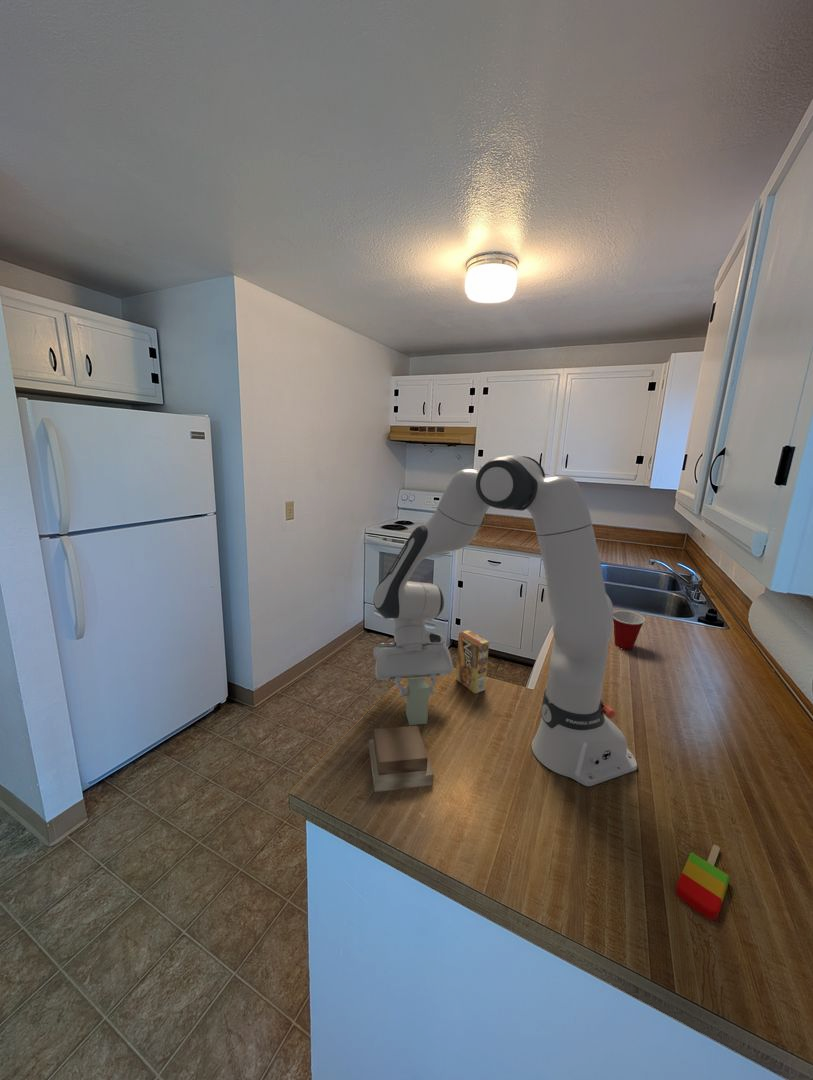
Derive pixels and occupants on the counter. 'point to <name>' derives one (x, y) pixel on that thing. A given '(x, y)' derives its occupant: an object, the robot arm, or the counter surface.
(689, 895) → the popsicle
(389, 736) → the tower top
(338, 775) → the counter surface
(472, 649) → the candy box
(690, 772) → the counter surface
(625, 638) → the plastic cup
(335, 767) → the counter surface
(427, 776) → the tower base
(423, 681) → the green block
